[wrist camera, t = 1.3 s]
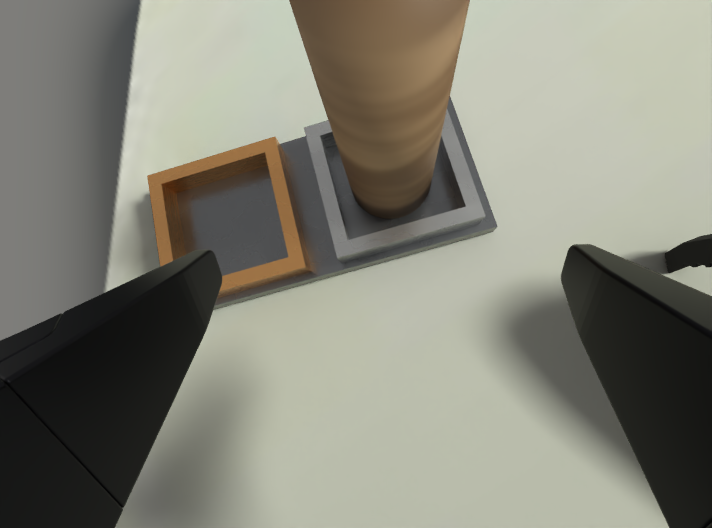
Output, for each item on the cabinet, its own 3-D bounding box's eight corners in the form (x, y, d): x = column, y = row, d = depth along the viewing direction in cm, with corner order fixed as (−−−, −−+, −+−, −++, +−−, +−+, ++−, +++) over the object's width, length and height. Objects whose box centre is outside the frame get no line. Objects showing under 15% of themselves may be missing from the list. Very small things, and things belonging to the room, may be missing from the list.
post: (413, 230, 21) (437, 70, 8) (338, 203, 22) (256, 22, 9) (442, 157, 22) (503, -93, 9) (368, 134, 23) (328, -124, 10)
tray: (446, 102, 23) (452, 75, 21) (492, 231, 22) (504, 218, 19) (159, 189, 25) (132, 174, 22) (178, 319, 23) (152, 317, 20)
